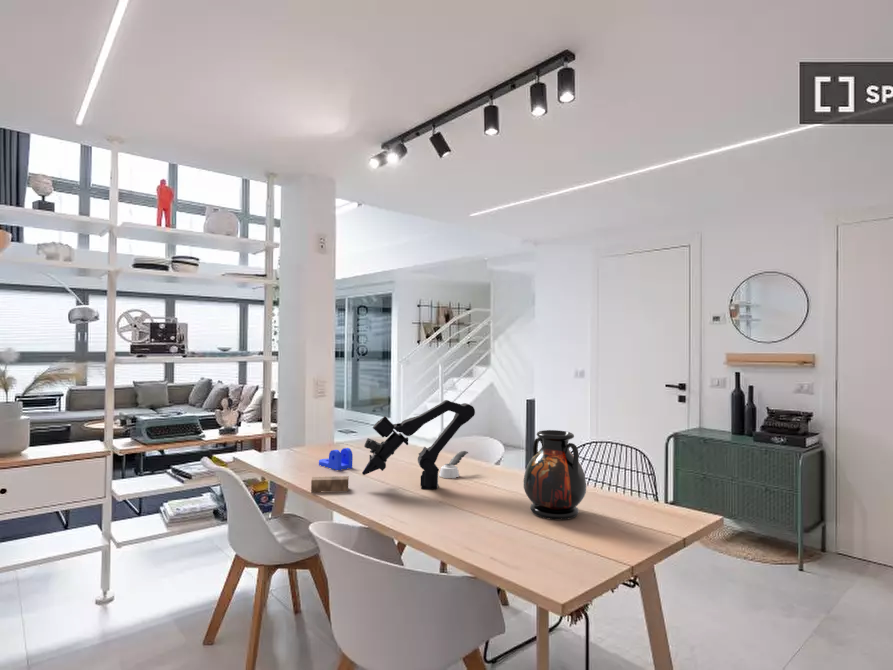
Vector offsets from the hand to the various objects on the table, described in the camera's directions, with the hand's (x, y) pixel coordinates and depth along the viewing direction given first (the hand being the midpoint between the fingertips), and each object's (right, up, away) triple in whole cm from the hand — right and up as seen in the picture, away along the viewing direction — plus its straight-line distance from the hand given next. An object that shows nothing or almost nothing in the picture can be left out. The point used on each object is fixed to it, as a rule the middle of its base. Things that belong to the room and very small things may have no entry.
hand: (362, 474), depth 207 cm
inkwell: (+37, -8, +27) cm, 47 cm away
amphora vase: (+71, -7, -26) cm, 76 cm away
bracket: (-20, -7, +39) cm, 44 cm away
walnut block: (-6, -4, -1) cm, 7 cm away
